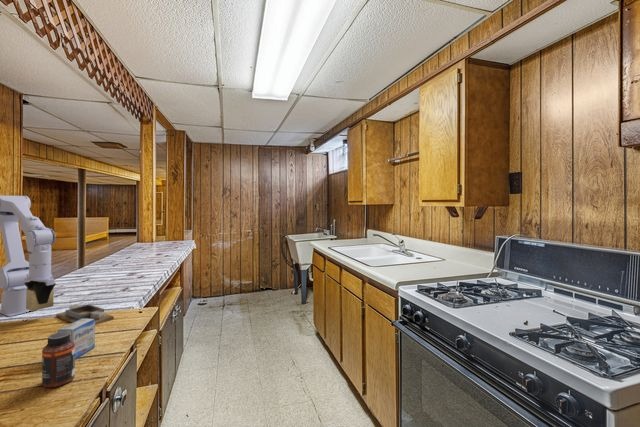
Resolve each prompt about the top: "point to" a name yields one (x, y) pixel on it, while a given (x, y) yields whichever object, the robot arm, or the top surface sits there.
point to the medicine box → (81, 335)
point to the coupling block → (33, 302)
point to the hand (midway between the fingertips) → (39, 302)
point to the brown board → (85, 314)
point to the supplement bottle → (58, 360)
